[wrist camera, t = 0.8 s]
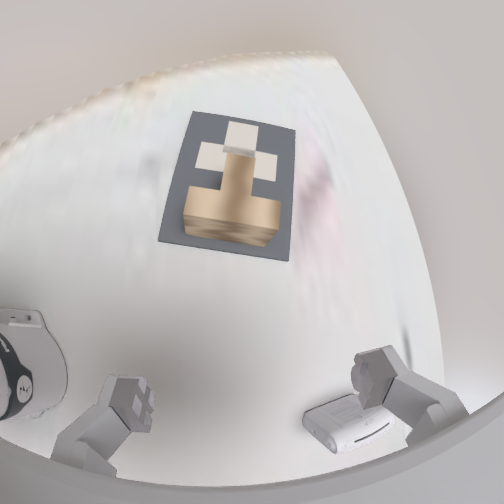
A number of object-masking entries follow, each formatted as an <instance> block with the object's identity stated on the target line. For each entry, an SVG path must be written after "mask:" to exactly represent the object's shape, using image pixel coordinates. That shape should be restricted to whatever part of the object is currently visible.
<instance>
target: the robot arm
mask: <svg viewBox="0 0 504 504" xmlns="http://www.w3.org/2000/svg"><path fill="white" fill-rule="evenodd" d="M30 316H31V320H30V318H29V317H30ZM354 362H355V365H354V366H353V367H352V370H351V381H352V385H353V387H354V389H355V390H357V391H358V392H360V393H359V396H358V399H359V401H360V403H361V406H362V408H363V410H365V409H369V408H372V407H376V406H379V405H382V406H383V407H385V408H386V409H387V410H389V411H390V412H391V413H393V414H394V415H395V416H397V417H398V418H400V419H401V420H402V421H404V422H405V423H406V424H408V425H409V426H411V427H412V428H413V429H412V431H411V432H410V433H409V435H408V436H407V438H406V442H407V444H408V447H406V448H403V449H401V450H399V451H396V452H393V453H391V454H388V455H386V456H383V457H380V458H377V459H374V460H371V461H368V462H365V463H362V464H359V465H356V466H352V467H349V468H345V469H341V470H338V471H334V472H330V473H325V474H321V475H316V476H311V477H306V478H301V479H295V480H289V481H282V482H275V483H267V484H257V485H244V486H221V487H200V486H178V485H165V484H155V483H147V482H140V481H133V480H127V479H122V478H117V477H116V473H117V470H116V468H115V467H114V466H112V465H111V464H110V463H109V462H108V461H107V460H108V459H109V458H110V457H111V456H112V455H113V453H114V452H115V451H116V450H117V449H118V447H119V446H120V445H121V444H122V443H123V441H124V440H125V439H126V438H127V437H128V435H129V434H130V433H131V432H130V431H133V432H150V428H151V423H152V418H151V417H150V415H149V414H150V413H151V412H153V411H154V405H155V403H154V395H153V392H152V390H151V389H150V388H148V387H147V386H146V385H147V381H146V379H145V378H144V377H140V376H123V375H109V376H108V377H107V378H106V380H105V383H104V386H103V389H102V391H101V394H100V397H99V400H98V403H97V405H93V406H92V407H91V408H90V409H88V410H87V411H86V412H85V413H84V414H82V415H81V416H80V417H79V418H78V419H76V420H75V421H74V422H73V423H72V424H70V425H69V426H68V427H67V428H66V429H64V430H63V431H62V432H61V433H60V434H58V437H57V440H56V443H55V446H54V449H53V452H52V455H51V458H50V459H49V458H46V457H43V456H41V455H38V454H36V453H33V452H31V451H28V450H26V449H24V448H21V447H19V446H17V445H15V444H13V443H11V442H9V441H7V440H5V439H3V438H1V437H0V504H504V392H503V393H502V394H500V395H499V396H497V397H496V398H495V399H493V400H492V401H490V402H489V403H487V404H486V405H484V406H483V407H481V408H480V409H478V410H477V411H475V412H473V413H472V414H470V415H469V413H468V412H467V410H466V409H465V407H464V405H463V404H462V402H461V401H460V399H459V398H458V396H457V394H456V393H455V392H453V391H451V390H448V389H446V388H444V387H442V386H440V385H438V384H436V383H434V382H432V381H430V380H428V379H426V378H424V377H422V376H420V375H418V374H416V373H415V372H413V371H412V372H409V371H408V369H407V368H406V366H405V365H404V363H403V362H402V360H401V359H400V357H399V355H398V354H397V352H396V351H395V349H394V348H393V346H391V345H388V346H385V347H381V348H376V349H373V350H369V351H365V352H361V353H357V354H356V355H355V358H354ZM66 386H67V371H66V365H65V361H64V358H63V355H62V353H61V351H60V349H59V347H58V345H57V343H56V342H55V340H54V339H53V338H52V336H51V335H50V334H49V332H48V331H47V329H46V327H45V324H44V321H43V318H42V316H41V314H40V312H38V311H33V310H18V309H5V308H0V421H1V420H6V419H18V418H22V417H26V416H30V417H31V418H38V417H39V416H40V415H41V414H42V413H43V411H44V410H46V409H48V408H51V407H54V406H56V405H57V404H58V403H59V402H60V401H61V400H62V398H63V396H64V394H65V391H66Z"/></svg>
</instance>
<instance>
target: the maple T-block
mask: <svg viewBox="0 0 504 504" xmlns="http://www.w3.org/2000/svg"><path fill="white" fill-rule="evenodd" d="M255 160H256V158H252V157H247V156H241V155H236V154H230V153H227V157H226V162H225V167H224V172H223V177H222V183H221V188H220V190H214V189H208V188H201V187H195V186H189V190H188V194H187V198H186V203H185V208H184V212H183V218H184V226H185V234H186V235H191V236H197V237H203V238H210V239H216V240H222V241H229V242H235V243H241V244H248V245H254V246H260V247H265V246H266V245H267V243H268V242H269V241H270V240H271V239H272V237H273V236H274V235H275V234H276V233H277V232H278V230H279V222H280V209H281V201H276V200H271V199H266V198H260V197H255V196H251V192H252V184H253V176H254V168H255Z"/></svg>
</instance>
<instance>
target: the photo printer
mask: <svg viewBox="0 0 504 504" xmlns="http://www.w3.org/2000/svg"><path fill="white" fill-rule="evenodd" d="M358 396H359V395H356V394H352V395H348V396H345V397H343V398H340V399H338V400H335V401H333V402H330V403H327V404H325V405H322V406H320V407H317V408H315V409H312V410H310V411H308V412H306V413H305V415H304V417H303V425H304V427H305V428H306V429H307V430H308V431H309V433H310V434H312V435H313V436H314V437H315V438H316V439H317V440H318V441H319V442H321V443H322V444H323V445H324V446H325V447H326V448H328V449H329V450H330V451H331V452H332V453H334V454H339V453H344V452H348V451H351V450H354V449H357V448H359V447H362V446H364V445H366V444H368V443H370V442H372V441H374V440H375V439H377V438H379V437H380V436H382V435H383V434H384V433H386V432H387V431H388V430H389V429H390V428H391V427H392V426H393V425H394V423H395V418H394V417H395V415H394V414H393V413H391V412H390V411H389V410H387V409H386V408H385V407H383V406H382V405H379V406H376V407H372V408H369V409H365V410H363V408H362V406H361V403H360V401H359V399H358Z"/></svg>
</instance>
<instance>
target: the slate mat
mask: <svg viewBox="0 0 504 504" xmlns="http://www.w3.org/2000/svg"><path fill="white" fill-rule="evenodd" d="M227 153H230V154H236V155H241V156H247V157H252V158H256V160H255V168H254V176H253V184H252V192H251V196H255V197H260V198H266V199H271V200H276V201H281V209H280V222H279V230H278V232H277V233H276V234H275V235H274V236H273V237H272V239H271V240H270V241H269V242H268V243H267V245H266V246H265V247H260V246H254V245H248V244H241V243H235V242H229V241H222V240H216V239H210V238H203V237H197V236H191V235H186V234H185V226H184V218H183V212H184V208H185V203H186V198H187V194H188V190H189V186H195V187H201V188H208V189H214V190H220V188H221V183H222V177H223V172H224V167H225V162H226V157H227ZM294 160H295V130H292V129H288V128H284V127H279V126H275V125H271V124H266V123H261V122H256V121H251V120H246V119H241V118H235V117H229V116H223V115H217V114H210V113H203V112H195V111H193V113H192V116H191V119H190V122H189V125H188V128H187V131H186V134H185V137H184V140H183V144H182V147H181V150H180V154H179V157H178V161H177V164H176V168H175V171H174V175H173V179H172V182H171V186H170V190H169V194H168V198H167V202H166V206H165V210H164V215H163V219H162V223H161V228H160V233H159V237H158V241H159V242H165V243H172V244H178V245H184V246H191V247H197V248H204V249H210V250H217V251H223V252H229V253H236V254H242V255H249V256H255V257H262V258H268V259H275V260H281V261H289V250H290V236H291V220H292V203H293V183H294Z"/></svg>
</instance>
